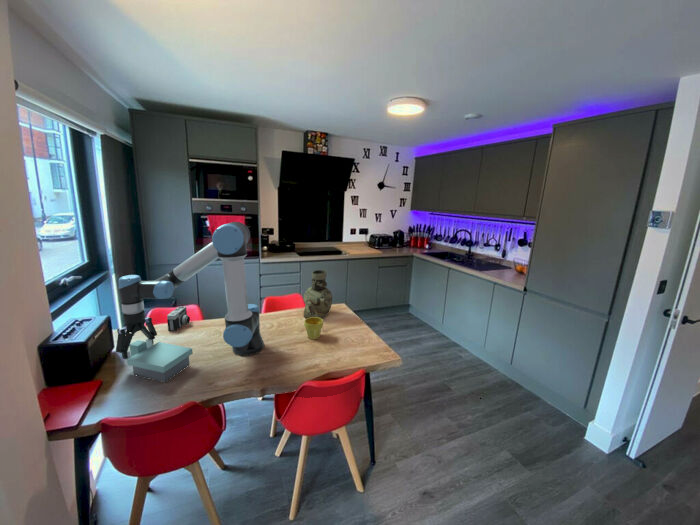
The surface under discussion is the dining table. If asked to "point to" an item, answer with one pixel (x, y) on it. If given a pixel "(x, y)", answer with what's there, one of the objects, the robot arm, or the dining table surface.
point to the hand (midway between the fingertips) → (139, 358)
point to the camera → (177, 318)
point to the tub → (159, 375)
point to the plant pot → (313, 327)
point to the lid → (157, 355)
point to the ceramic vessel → (317, 297)
